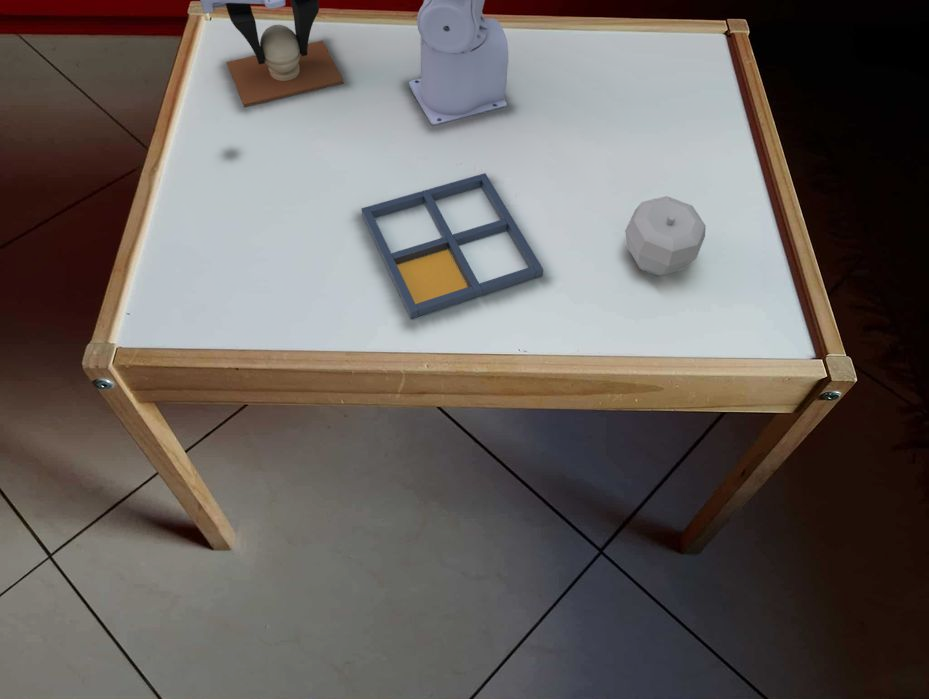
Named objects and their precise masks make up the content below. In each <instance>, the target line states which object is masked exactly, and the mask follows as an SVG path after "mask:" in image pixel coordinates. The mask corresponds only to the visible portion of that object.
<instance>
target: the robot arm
mask: <svg viewBox="0 0 929 699" xmlns="http://www.w3.org/2000/svg"><path fill="white" fill-rule="evenodd" d="M199 1H200V4H201V9H202V12H203V14H204V15H206V14H212V13H214V12H215V9H219V8H224V7H225V8H226V11H227V13H228V17H229V18H230V22H231V23H232V24H233V26H234V27H235V29H236V30H238V32H240V34H241V35H242V36H243V37H244V38H245V40H246V42H247V43H248V44H249V47H251V50H252V51H253V53H254V56H256V58H257V60H258V63H259V64H265V61H264V56H263V53H262V50H261V47H260V39H259V35H258V29H257V22H256V19H255V17H254V14H253V10H252V6H251V5H264V6H265V8H266V9H269V10H272V9H277V8H283V7H285V6H286V0H199ZM485 1H486V0H423V2H422V5H421V6H420V8H419V9H418V13H417V17H416V26H417V31H418V34H419V36H420V78H416V79H412V80H410V81H409V82H408V87H409V89H410V90H411V92H412V94H413V95H414V97H415V99H416V101H417V102H418V104H419V106H420V108H421V109H422V111H423V113H424V115H425V116H426V118H427V120H428V121H429V123H430V124H431V126H432V127H436V126H439V125H443V124H447V123H451V122H455V121H459V120H463V119H466V118H471V117H474V116H477V115H482V114H484V113H490V112H493V111H497V110H500V109H504V108H506V107H507V101H506V100H505V97H506V96H505V95H506V87H507V86H506V85H507V75H508V68H509V67H508V66H509V45H508V39H507V36H506V33H505V30H504V28H503V27H502V24H501V23H500V21H499V20H498V19H496V18H494V17H487V18H485V16H484V13H483V9H484V5H485ZM290 6H291V9H292V10H291V11H292V15H293V24H294V33H295V35H296V37H297V38H298V42H299V47H300V53H301V56H306V55H307V49H308V44H309V41H310V35H311V30H312V27H313V25H314V22H315V20H316V17H317V15H318V14H319V11H320V2H319V0H290Z"/></svg>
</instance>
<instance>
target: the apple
mask: <svg viewBox="0 0 929 699" xmlns="http://www.w3.org/2000/svg"><path fill="white" fill-rule="evenodd" d="M706 227H707V226H706V223H705V222H704V221H703V220H702V218H701V216H700V215H699V213H698V212H697V210H696V209H695V207H694V206H693V205H692V204H690V203H687V202H684V201H681V200H678V199H675V198H673V197H671V196H667V195H665V196H662V197H657V198H653V199H649V200H645V201H641V203H639V205H638V206H637V207H636V208H635V209H634V211H633V213H632V215H631V216H630V220H629V221H628V224H627V226H626V228H625V230H624V234H625V241H626V246H627V248H628V250H629V252H630V254H631V256H632V258H633V259H634V262H635V263H636V265H637V266H638V268H639V269H640V271H641V270H642V271H644V272H646V273H649V274H651V275H654V276H656V277H662V276H664V275H669V274H671V273H675V272H678V271H681V270H684V269H686V268H687V267H688V266H689V265H691V264H692V263H693V262H694V261H695V260H696V259H697V258H698V255H699V253H700V250H701V248H702V245H703V243H704V241H705V238H706Z"/></svg>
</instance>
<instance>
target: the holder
mask: <svg viewBox="0 0 929 699" xmlns="http://www.w3.org/2000/svg"><path fill="white" fill-rule="evenodd" d="M489 178H490V177H489V176H488V175H487V172H484V173H480V174H478V175H477V174H476V175H474V176H470V177H466V178H463V179H460V180H459V179H458V180H456V181H452V182H449V183H445V184H441V185H438V186H434V187H431V188H428V189H425V190H424V189H423V190H421V191H418V192H413V193H411V194H407V195H403V196H399V197H396V198H393V199H390V200H386V201H383V202H379V203H376V204H372V205H369V206H365V207H361V209H360V210H361V217H362V219H363V220H364V223H365V225H366V227H367V229H368V232H369V234H370V235H371V237H372V240H373V242H374V244H375V246H376V249H377V251H378V253H379V255H380V256H381V259H382V261H383V263H384V265H385V267H386V269H387V270H386V271H388V274H389V276H390V278H391V280H392V282H393V285H394V287H395V289H396V291H397V293H398V295H399V297H400V299H401V302H402V303H403V306H404V308H405V310H406V312H407V314H408V316H409V318H410V320H412V319H415V318H419V317H422V316H425V315H428V314H430V313H434V312H437V311H440V310H443V309H446V308H449V307H452V306H456V305H458V304H462V303H464V302H468V301H470V300H473V299H476V298H479V297H482V296H486V295H488V294H491V293H494V292H498V291H501V290H504V289H506V288H511V287H513V286H517V285H520V284H522V283H525V282H529V281H531V280H534V279H537V278H541V277H542V276H543V273H544V268H543V266H542V265H541V263H540V261H539V260H538V258H537V256H536V254H535V253H534V251H533V249H532V248H531V246H530V244H529V242H528V241H527V240H526V238H525V237H524V234H523V233H522V232H521V229H520V228H519V226H518V225H517V223H516V221H515V220H514V218H513V216H512V215H511V213H510V211H509V210H508V208H507V207H506V205H505V203H504V202H503V200H502V198H501V197H500V195H499V193H498V191H497V190H496V188H495V187H494V185H493V183H492V182H491V180H490V179H489ZM478 188H481V189H482V191H483V193H484V194H485V196H486V198H487V199H488V201H489V203H490V204H491V206H492V208H493V209H494V211H495V213H496V215H497V217H498V219H499V220H496V221H493V222H489V223H486V224H483V225H480V226H476V227H473V228H470V229H469V228H468V229H467V230H463V231H459V232H457V233H454V234H453V233H452V231H451V229H450V227H449V225H448V223H447V222H446V220H445V218H444V216H443V214H442V212H441V210H440V209H439V207H438V205H437V203H436V201H438V200H441V199H444V198H448V197H451V196H454V195H457V194H462V193H464V192H468V191H471V190H475V189H478ZM419 205H424V206H425V209H426V210H427V212H428V214H429V216H430V218H431V219H432V222H433V223H434V226H435V227H436V229H437V231H438V233H439V234H440V236H441V237H440V238H437V239H434V240H431V241H426V242H424V243H421V244H417V245H413V246H411V247H407V248H404V249H399V250H397V251H394V252H391V250H390V248H389V246H388V243H387V241H386V239H385V238H384V235H383V233H382V232H381V229H380V226H379V225H378V223H377V221H376V219H375V218H378V217H381V216H386V215H388V214H389V215H390V214H393V213H395V212H399V211H402V210H406V209H410V208H413V207H416V206H419ZM504 232H507V233H508V235H509V237H510V238H511V240H512V242H513V244H514V245H515V247H516V249H517V250H518V252H519V253H520V256H521V257H522V259H523V260H524V262H525V264H526V266H527V268H522V269H519V270H517V271H513V272H510V273H508V274H505V275H501V276H498V277H495V278H492V279H489V280H486V281H482V282H479V280H478V279H477V277H476V275H475V273H474V271H473V269H472V268H471V266H470V263H469V262H468V260H467V258H466V256H465V255H464V253H463V251H462V250H461V247H460V246H462V245H467V244H468V243H471V242H475V241H478V240H482V239H485V238H489V237H491V236H494V235H498V234H501V233H504Z"/></svg>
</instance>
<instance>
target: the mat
mask: <svg viewBox="0 0 929 699" xmlns="http://www.w3.org/2000/svg"><path fill="white" fill-rule="evenodd" d="M300 54H301V53H300ZM226 66H227V69H228V70H229V74H230V75H231V78H232V80H233V83H234V85H235V88H236V90H237V93H238V95H239V98H240V101H241V103H242V105H243V107H250V106H255V105H259V104H262V103H267V102H270V101H271V102H272V101H275V100H280V99H283V98H288V97H293V96H296V95H300V94H304V93H308V92H312V91H316V90H320V89H325V88H328V87H333V86H336V85H337V86H338V85H341V84H344V79H343V77H342V75H341V73H340V71H339V70H338V67H337V66H336V64H335V61H334V60H333V58H332V56H331V53H330V52H329V50H328V47H327V45H326V44H325V42H324V40H318V41H314V42H308V49H307V55H306V56H300V61H299V67H300V73H299V75H298V76H297V77H295V78H294V79H291V80H288V81H280V80H276V79H274V78H273V77H272V76H271V75H270V73H269V67H268V66H267V65H266V63H265V64H259V63H258V60H257V58H256V55H251V56H247V57H242V58H238V59H234V60H229V61H226Z"/></svg>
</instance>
